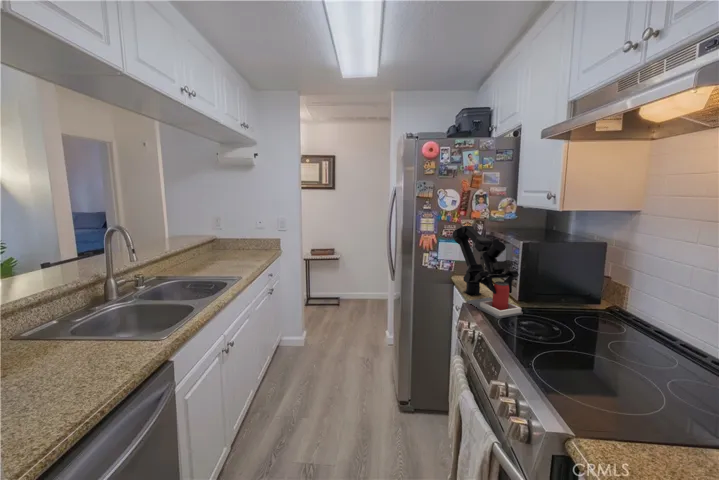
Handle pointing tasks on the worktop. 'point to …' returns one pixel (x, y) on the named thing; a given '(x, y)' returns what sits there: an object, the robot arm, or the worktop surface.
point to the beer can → (501, 296)
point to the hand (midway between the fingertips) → (503, 293)
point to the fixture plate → (486, 306)
